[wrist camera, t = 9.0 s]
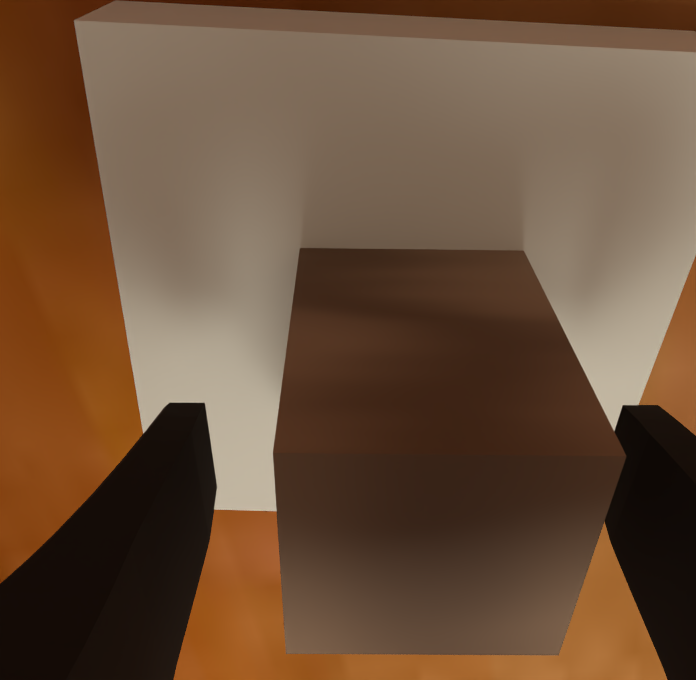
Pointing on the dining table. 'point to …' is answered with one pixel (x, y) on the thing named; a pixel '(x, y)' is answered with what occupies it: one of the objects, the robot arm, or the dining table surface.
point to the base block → (378, 184)
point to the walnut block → (434, 457)
